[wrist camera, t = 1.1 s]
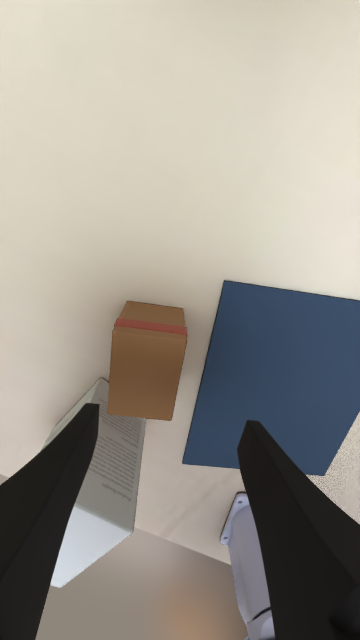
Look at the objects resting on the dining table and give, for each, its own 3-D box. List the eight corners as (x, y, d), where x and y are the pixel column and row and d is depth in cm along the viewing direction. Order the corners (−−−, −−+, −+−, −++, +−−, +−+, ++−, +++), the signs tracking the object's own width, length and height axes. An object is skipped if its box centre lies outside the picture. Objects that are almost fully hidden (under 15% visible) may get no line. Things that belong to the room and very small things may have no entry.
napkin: (322, 473, 29) (324, 476, 29) (182, 461, 28) (182, 464, 27) (412, 308, 21) (415, 310, 21) (224, 280, 20) (225, 281, 20)
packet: (171, 375, 23) (172, 422, 18) (120, 369, 23) (105, 415, 18) (184, 307, 21) (188, 339, 16) (126, 299, 20) (111, 329, 15)
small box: (99, 453, 27) (59, 591, 17) (52, 426, 25) (-23, 563, 15) (149, 407, 25) (136, 536, 15) (101, 374, 23) (50, 495, 13)
